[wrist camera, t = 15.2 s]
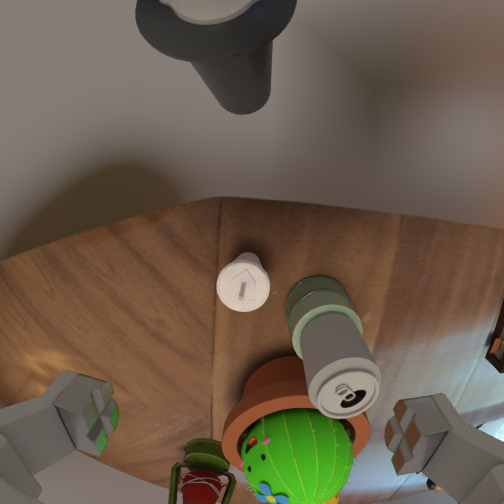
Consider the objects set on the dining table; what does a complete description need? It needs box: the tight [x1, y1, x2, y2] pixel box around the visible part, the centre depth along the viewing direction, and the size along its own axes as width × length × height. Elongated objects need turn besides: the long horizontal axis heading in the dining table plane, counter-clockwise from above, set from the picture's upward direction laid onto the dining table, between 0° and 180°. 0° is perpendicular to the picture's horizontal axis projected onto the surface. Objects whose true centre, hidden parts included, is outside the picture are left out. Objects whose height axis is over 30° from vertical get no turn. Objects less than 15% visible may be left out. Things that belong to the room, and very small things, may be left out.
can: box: [300, 314, 381, 419], centre depth 31 cm, size 8×8×12 cm
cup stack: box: [286, 276, 363, 360], centre depth 41 cm, size 10×10×10 cm
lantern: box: [168, 438, 236, 504], centre depth 42 cm, size 14×11×30 cm
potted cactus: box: [222, 356, 370, 504], centre depth 39 cm, size 22×22×25 cm
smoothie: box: [217, 252, 270, 312], centre depth 38 cm, size 6×6×14 cm
